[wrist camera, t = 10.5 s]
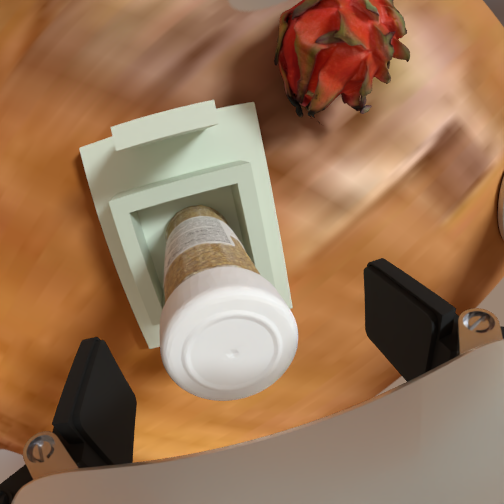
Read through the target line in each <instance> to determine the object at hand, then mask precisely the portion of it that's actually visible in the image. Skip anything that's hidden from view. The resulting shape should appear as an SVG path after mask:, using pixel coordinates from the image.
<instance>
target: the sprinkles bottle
mask: <svg viewBox="0 0 504 504" xmlns="http://www.w3.org/2000/svg"><path fill="white" fill-rule="evenodd" d="M165 240H166V250H165V265H164V284H163V287H164V295H165V305H164V307H163V310H162V313H161V317H160V331H159V333H160V352H161V358H162V362H163V365H164V367H165V369H166V371H167V373H168V374H169V376H170V377H171V378H172V380H173V381H174V382H175V383H176V384H177V385H178V386H180V387H181V388H182V389H184V390H185V391H187V392H189V393H191V394H193V395H195V396H198V397H201V398H205V399H209V400H218V401H228V400H236V399H241V398H245V397H249V396H251V395H254V394H256V393H259V392H261V391H263V390H264V389H266V388H268V387H269V386H270V385H272V384H273V383H274V382H276V381H277V380H278V379H279V378H280V377H281V376H282V375H283V374H284V372H285V371H286V370H287V368H288V367H289V366H290V364H291V362H292V360H293V358H294V356H295V353H296V350H297V345H298V329H297V324H296V321H295V318H294V316H293V314H292V312H291V310H290V309H289V307H288V306H287V304H286V303H285V301H284V300H283V298H282V297H281V295H280V294H279V293H278V291H277V290H276V288H275V287H274V286H273V285H272V284H271V283H270V282H269V281H268V280H266V279H265V278H263V277H262V276H261V275H260V273H259V271H258V270H257V269H256V267H255V265H254V264H253V262H252V261H251V259H250V257H249V256H248V255H247V253H246V251H245V249H244V247H243V245H242V244H241V242H240V241H239V239H238V238H237V236H236V235H235V233H234V232H233V231H232V229H231V228H230V227H229V225H228V223H227V221H226V219H225V218H224V216H223V215H221V214H220V213H219V212H218V211H216V210H215V209H213V208H210V207H207V206H203V205H196V206H189V207H187V208H184V209H182V210H180V211H179V212H177V213H176V214H175V215H174V217H173V218H172V219H171V220H170V222H169V224H168V226H167V229H166V234H165Z"/></svg>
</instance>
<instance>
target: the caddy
mask: <svg viewBox="0 0 504 504" xmlns="http://www.w3.org/2000/svg"><path fill="white" fill-rule="evenodd" d="M111 131H112V135H113V136H112V137H109V138H106V139H104V140H101V141H98V142H95V143H92V144H89V145H86V146H84V147H81V148H79V149H80V153H81V157H82V161H83V165H84V169H85V173H86V177H87V180H88V184H89V187H90V191H91V194H92V198H93V201H94V205H95V208H96V211H97V214H98V218H99V221H100V224H101V227H102V230H103V233H104V236H105V239H106V242H107V245H108V248H109V251H110V253H111V256H112V259H113V262H114V264H115V267H116V270H117V273H118V275H119V278H120V280H121V283H122V286H123V288H124V291H125V293H126V296H127V298H128V301H129V303H130V305H131V308H132V310H133V313H134V315H135V317H136V320H137V322H138V324H139V327H140V329H141V331H142V333H143V336H144V338H145V340H146V342H147V344H148V346H149V349H152V348H156V347H160V333H159V331H160V317H161V313H162V310H163V307H164V305H165V295H164V287H163V284H164V265H165V250H166V240H165V234H166V229H167V226H168V224H169V222H170V220H171V219H172V218H173V217H174V215H175V214H176V213H177V212H179V211H180V210H182V209H184V208H187V207H189V206H196V205H203V206H207V207H210V208H213V209H215V210H216V211H218V212H219V213H220V214H221V215H223V216H224V218H225V219H226V221H227V223H228V225H229V227H230V228H231V229H232V231H233V232H234V233H235V235H236V236H237V238H238V239H239V241H240V242H241V244H242V245H243V247H244V249H245V251H246V253H247V255H248V256H249V257H250V259H251V261H252V262H253V264H254V265H255V267H256V269H257V270H258V271H259V273H260V275H261V276H262V277H263V278H265V279H266V280H268V281H269V282H270V283H271V284H272V285H273V286H274V287H275V288H276V290H277V291H278V293H279V294H280V295H281V297H282V298H283V300H284V301H285V303H286V304H287V306H288V307H289V309H291V308H293V307H292V301H291V295H290V289H289V283H288V277H287V272H286V266H285V260H284V254H283V248H282V243H281V237H280V232H279V226H278V221H277V215H276V210H275V204H274V199H273V194H272V188H271V183H270V178H269V173H268V168H267V163H266V157H265V152H264V147H263V142H262V137H261V133H260V128H259V123H258V118H257V113H256V108H255V104H254V102H249V103H243V104H238V105H233V106H228V107H223V108H218V109H216V107H215V102H214V100H211V101H206V102H201V103H197V104H192V105H188V106H184V107H180V108H176V109H172V110H168V111H164V112H160V113H157V114H153V115H149V116H146V117H142V118H139V119H135V120H132V121H129V122H126V123H122V124H119V125H116V126H113V127H111Z"/></svg>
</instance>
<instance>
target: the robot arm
mask: <svg viewBox="0 0 504 504" xmlns="http://www.w3.org/2000/svg"><path fill="white" fill-rule="evenodd" d="M498 223H499V229H500V233H501V236H502V238H503V240H504V177H503V180H502V183H501V188H500V193H499V201H498ZM364 290H365V330H366V334H367V336H368V337H369V339H370V340H371V341H372V342H373V343H374V344H375V345H376V347H377V348H378V349H379V350H380V351H381V352H382V353H383V355H384V356H385V357H386V358H387V359H388V360H389V361H390V362H391V364H392V365H393V366H394V367H395V368H396V369H397V371H398V372H399V373H400V374H401V375H402V376H403V377H404V379H405V380H406V381H407V382H406V383H404V384H402V385H400V386H398V387H395V388H393V389H391V390H389V391H387V392H385V393H383V394H380V395H378V396H376V397H374V398H371V399H369V400H367V401H364V402H362V403H359V404H357V405H355V406H352V407H350V408H347V409H345V410H342V411H339V412H337V413H334V414H332V415H329V416H326V417H324V418H321V419H318V420H315V421H312V422H309V423H307V424H304V425H301V426H298V427H295V428H291V429H288V430H285V431H282V432H279V433H275V434H272V435H268V436H265V437H261V438H258V439H254V440H250V441H247V442H243V443H239V444H235V445H231V446H226V447H222V448H218V449H213V450H208V451H204V452H199V453H194V454H188V455H183V456H177V457H171V458H165V459H158V460H151V461H143V462H136V463H132V461H133V443H134V428H135V416H136V405H137V402H136V397H135V395H134V393H133V391H132V389H131V388H130V386H129V384H128V383H127V381H126V379H125V377H124V376H123V374H122V372H121V370H120V369H119V367H118V365H117V363H116V361H115V359H114V357H113V356H112V354H111V352H110V350H109V348H108V346H107V344H106V342H105V341H104V340H100V339H99V338H98V337H94V338H90V339H85V340H82V342H81V344H80V346H79V349H78V351H77V354H76V357H75V359H74V362H73V364H72V367H71V370H70V372H69V375H68V378H67V381H66V383H65V386H64V389H63V392H62V395H61V398H60V401H59V404H58V407H57V410H56V413H55V416H54V419H53V422H52V425H53V426H54V429H53V432H49V431H44V432H40V433H37V434H35V435H34V436H32V437H31V438H30V439H29V440H28V442H27V443H26V444H25V447H24V449H23V458H24V461H25V463H26V464H25V465H24V466H23V467H22V468H20V469H19V470H18V471H17V472H15V473H14V474H13V475H12V476H10V477H9V478H8V479H6V480H5V481H4V482H2V483H1V484H0V504H504V327H501V326H500V323H499V320H498V318H497V317H496V316H495V315H494V314H493V313H492V312H490V311H488V310H485V309H479V308H474V309H469V310H466V311H464V312H463V313H461V315H460V316H458V315H457V314H456V313H455V311H456V308H455V307H453V306H452V305H451V304H449V303H448V302H446V301H445V300H444V299H442V298H441V297H439V296H438V295H437V294H435V293H434V292H432V291H431V290H430V289H428V288H427V287H425V286H424V285H422V284H421V283H419V282H418V281H417V280H415V279H414V278H412V277H411V276H409V275H408V274H406V273H405V272H403V271H402V270H400V269H399V268H397V267H396V266H394V265H393V264H391V263H390V262H388V261H387V260H385V259H383V258H381V259H378V260H375V261H372V262H369V263H368V264H367V267H366V268H365V269H364Z"/></svg>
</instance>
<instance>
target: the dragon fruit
mask: <svg viewBox="0 0 504 504" xmlns="http://www.w3.org/2000/svg"><path fill="white" fill-rule="evenodd" d="M279 22H280V27H279V37H278V41H277V43H278V45H277V49H276V53H275V59H274V62H275V65H276V66H277V64H279V68H280V73H281V75H282V78H283V81H284V85H285V92H286V95H287V97H288V99H289V100H290V102H291V103H292V105H293V106H294V107H296V113H297V115H298V116H299V117H302V116H303V112H302V108H301V105H302V106H304V107H305V108H306V110H308V111H309V112H308V115H309V116H310V115H311V116H312V117H314V114H315V113H317V112H319V111H321V110H324V109H325V108H326V107H328V106H329V105H330V104H331V102H332V101H333V100H334V99H335V98H336V97H337V96H338V95H340V94H341V95H342V100H343V102H344V103H347V104H348V105H349V106H351V107H352V108H353V109H355V110H356V111H360V113H362V114H363V113H366V112H368V111H369V109H370V108H371V105H370V106H369V105H366V106H364V105H365V103H366V95H367V94H370V93H371V91H372V79H373V77H376V78H377V79H379V80H380V81H381V82H384V83H386V84H388V83H389V82H390V81H391V77H390V75H389V72H388V69H389V66H390V60H391V59H392V57H394V58H397V59H402V60H406V61H407V62H408V61H409V59H410V51H409V49H408V48H407V47H406V46H405V45H404V44H402V43H401V42H400V41H399V40H398V39H399V38H402V37H403V36H404V35H405V34H407V30H406V28H405V22H404V19H403V17H402V15H401V14H400V13H399V11H398V10H397V9H396V8H395V7H394V5H393V0H302V1H301V2H299V3H298V4H297V5H295V6H294V7H292V8H291V9H289V10H287V11H285V12H283V13H282V14H281V17H280V21H279ZM295 94H296V95H295ZM360 95H361V99H360ZM311 116H310V117H311ZM314 118H315V117H314ZM317 121H318V120H317ZM321 125H322V124H321Z"/></svg>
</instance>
